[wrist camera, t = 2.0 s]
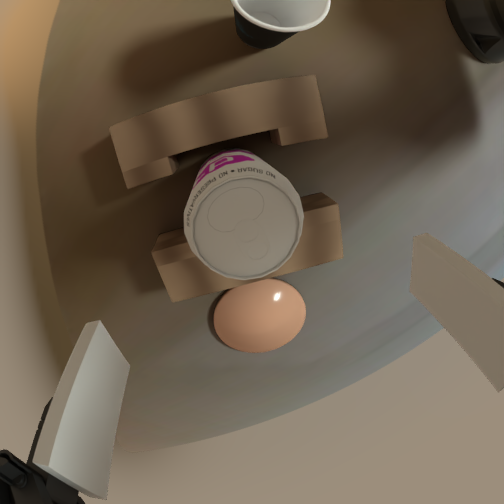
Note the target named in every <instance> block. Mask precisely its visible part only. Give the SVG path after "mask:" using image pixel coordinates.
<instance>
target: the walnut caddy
mask: <svg viewBox="0 0 504 504" xmlns="http://www.w3.org/2000/svg"><path fill="white" fill-rule="evenodd" d="M109 130H110V133H111V137H112V140H113V144H114V147H115V151H116V154H117V158H118V161H119V164H120V167H121V171H122V174H123V177H124V180H125V183H126V186H127V189H130V188H133V187H135V186H138V185H141V184H144V183H147V182H150V181H153V180H156V179H159V178H162V177H165V176H169V175H172V174H173V173H174V172H175V171H176V170H177V169H178V168H179V164H178V160H177V157H176V154H178V153H181V152H184V151H188V150H191V149H195V148H198V147H202V146H205V145H209V144H212V143H216V142H220V141H224V140H228V139H232V138H236V137H240V136H245V135H249V134H253V133H258V132H263V131H267V130H269V132H270V137H271V141H272V143H274V144H277V145H280V146H285V145H290V144H295V143H300V142H306V141H311V140H317V139H323V138H328V133H327V128H326V122H325V117H324V112H323V107H322V103H321V98H320V93H319V89H318V85H317V80H316V76H315V75H306V76H297V77H289V78H282V79H275V80H269V81H263V82H258V83H252V84H247V85H242V86H237V87H233V88H228V89H224V90H220V91H216V92H212V93H208V94H204V95H200V96H196V97H193V98H189V99H186V100H183V101H179V102H176V103H173V104H170V105H167V106H163V107H160V108H158V109H155V110H152V111H149V112H146V113H143V114H141V115H138V116H135V117H133V118H130V119H128V120H125V121H123V122H120V123H118V124H115V125H113V126H111V127H109ZM300 200H301V204H302V209H303V213H304V219H303V227H302V234H301V236H300V238H299V243H298V244H297V246H296V248H295V250H294V252H293V254H292V256H291V257H290V258H289V259H288V260H287V261H286V262H285V263H284V264H283V265H282V266H281V267H280V268H279V269H278V270H276V271H274V272H272V273H270V274H268V275H266V276H264V277H261V278H255V279H249V280H239V279H233V278H226V277H224V276H222V275H220V274H218V273H216V272H215V271H213V270H211V269H210V268H209V267H208V266H206V265H204V263H203V262H202V261H201V260H200V259H199V258H198V257H197V256H196V255H195V254H194V253H193V252H192V250H191V248H190V246H189V243H188V241H187V238H186V236H185V233H184V228H180V229H177V230H173V231H170V232H166V233H163V234H160V235H159V236H158V238H157V240H156V243H155V245H154V247H153V249H152V251H151V254H152V256H153V259H154V261H155V264H156V266H157V268H158V271H159V273H160V275H161V278H162V280H163V282H164V285H165V287H166V289H167V291H168V294H169V296H170V298H171V300H172V302H177V301H181V300H185V299H189V298H194V297H198V296H202V295H206V294H210V293H214V292H218V291H222V290H226V289H230V288H234V287H238V286H242V285H246V284H249V283H253V282H257V281H261V280H265V279H269V278H272V277H276V276H280V275H284V274H287V273H291V272H295V271H298V270H302V269H306V268H309V267H313V266H316V265H320V264H323V263H327V262H331V261H334V260H338V259H341V258H343V246H342V235H341V225H340V215H339V207H338V203H336V202H335V201H333V200H332V199H331V198H329V197H328V196H326V195H325V194H323V193H322V192H321V193H317V194H313V195H308V196H304V197H300Z"/></svg>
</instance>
